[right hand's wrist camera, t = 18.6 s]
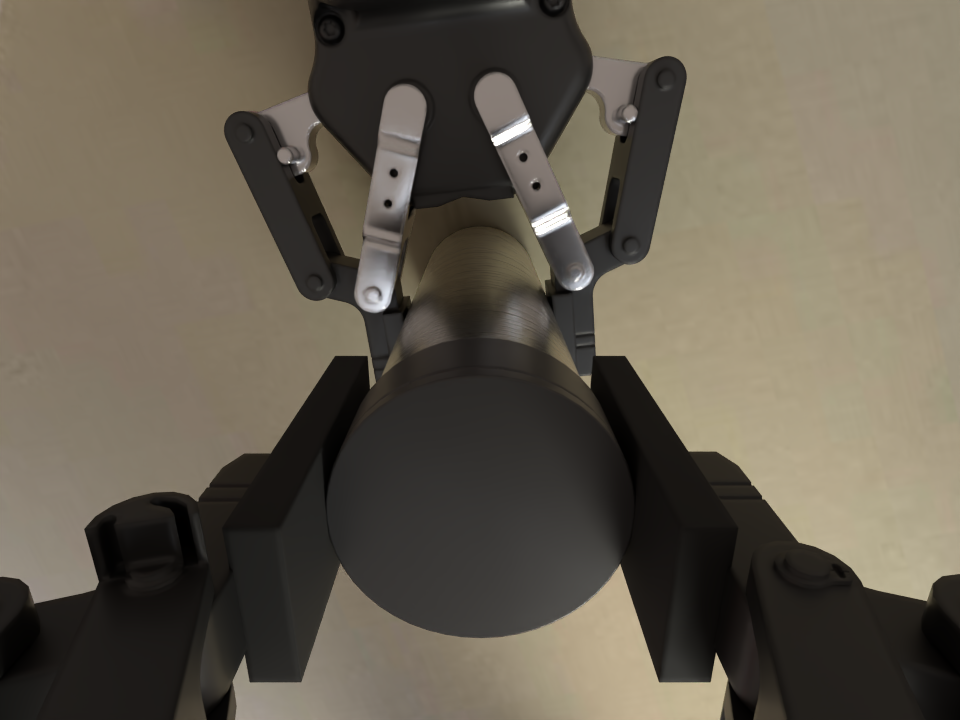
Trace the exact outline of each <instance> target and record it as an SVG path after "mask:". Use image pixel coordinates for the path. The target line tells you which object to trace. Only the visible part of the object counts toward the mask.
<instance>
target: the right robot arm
mask: <svg viewBox="0 0 960 720" xmlns="http://www.w3.org/2000/svg"><path fill="white" fill-rule="evenodd" d="M369 390H370V384H369V370H368V356H335V357H334V359H333V360H332V362H331V363H330V365H329V366H328V368H327V369H326V371H325V372H324V374H323V375H322V377H321V378H320V380H319V381H318V383H317V384H316V386H315V388H314V389H313V391H312V392H311V394H310V395H309V397H308V398H307V400H306V401H305V403H304V404H303V406H302V407H301V409H300V410H299V412H298V413H297V415H296V416H295V418H294V419H293V421H292V422H291V424H290V425H289V427H288V428H287V430H286V431H285V433H284V434H283V436H282V437H281V439H280V440H279V442H278V443H277V445H276V447H275V448H274V450H273V451H272V453H271V454H243V455H242V456H240V457H238V458H237V459H235V460H234V461H232V462H231V463H229V464H228V465H226V466H225V467H223V468H222V469H221V470H220V472H219V473H218V474H217V476H216V477H215V478H214V479H213V481H212V482H211V483H210V487H209V488H206V490H205V491H204V492H203V494H202V495H201V496H200V497H199V502H196V501H195V500H194V499H193V498H191V497H190V496H189V495H185V494H181V493H176V492H160V493H151V494H146V495H142V496H137V497H133V498H131V499H128V500H126V501H123V502H121V503H118V504H116V505H113V506H111V507H110V508H108V509H107V510H105V511H103V512H102V513H100V514H99V515H97V516H96V517H95V518H94V519H93V520H92V521H91V522H90V523H89V524H88V525H87V527H86V528H85V529H84V530H85V533H86V537H87V540H88V544H89V547H90V551H91V555H92V558H93V562H94V565H95V569H96V573H97V576H98V580H99V583H98V586H97V588H96V590H94V591H90V592H86V593H83V594H78V595H73V596H68V597H64V598H59V599H54V600H50V601H45V602H40V603H36V604H34V602H33V599H32V596H31V593H30V590H29V586H27V585H26V584H25V583H24V582H22V581H21V580H20V579H15V578H8V577H0V720H235V715H236V699H235V692H234V687H233V682H232V681H233V679H234V677H235V674H236V672H237V670H238V668H239V666H240V663H241V661H242V659H243V657H244V655H245V658H246V663H247V669H248V674H249V680H250V682H301V681H302V678H303V675H304V672H305V669H306V666H307V663H308V660H309V657H310V654H311V651H312V648H313V645H314V642H315V639H316V635H317V632H318V629H319V626H320V623H321V620H322V617H323V614H324V611H325V608H326V605H327V602H328V599H329V596H330V593H331V590H332V587H333V584H334V581H335V578H336V574H337V571H338V568H339V565H340V561H339V559H338V557H337V555H336V553H335V550H334V548H333V545H332V542H331V539H330V536H329V531H328V526H327V517H326V503H325V501H326V492H327V484H328V480H329V477H330V473H331V470H332V466H333V464H334V462H335V460H336V458H337V455H338V453H339V451H340V449H341V446H342V444H343V442H344V440H345V437H346V435H347V433H348V431H349V429H350V426H351V424H352V422H353V420H354V417H355V415H356V413H357V411H358V409H359V406H360V404H361V403H362V401H363V399H364V398H365V396H366V395H367V393H368V392H369ZM591 391H592V392H593V394H594V395H595V397H596V398H597V400H598V401H599V403H600V405H601V407H602V409H603V411H604V413H605V415H606V417H607V420H608V422H609V424H610V426H611V428H612V431H613V433H614V435H615V437H616V439H617V442H618V444H619V446H620V448H621V451H622V453H623V455H624V457H625V459H626V462H627V464H628V467H629V470H630V473H631V477H632V480H633V485H634V492H635V512H634V521H633V530H632V536H631V539H630V542H629V545H628V548H627V551H626V553H625V555H624V557H623V559H622V561H621V563H620V564H621V567H622V570H623V573H624V576H625V579H626V583H627V586H628V589H629V592H630V595H631V598H632V601H633V604H634V607H635V610H636V613H637V616H638V619H639V622H640V625H641V628H642V631H643V634H644V637H645V640H646V644H647V647H648V650H649V653H650V656H651V659H652V662H653V665H654V668H655V671H656V674H657V677H658V680H659V682H711V676H712V671H713V665H714V660H715V655H716V653H717V655H718V657H719V660H720V662H721V664H722V666H723V668H724V670H725V673H726V675H727V677H728V682H727V687H726V692H725V697H724V702H723V707H722V712H721V718H720V720H960V574H957V575H949V576H942V577H941V578H940V579H938V580H937V581H936V582H935V583H933V585H932V588H931V591H930V594H929V597H928V600H927V601H923V600H919V599H914V598H909V597H904V596H900V595H895V594H890V593H886V592H881V591H876V590H873V589H869V588H866V587H863V585H862V582H861V581H860V579H859V578H858V577H857V575H856V574H855V573H854V571H853V570H852V569H851V568H850V567H849V566H848V565H846V564H845V563H844V562H842V561H841V560H839V559H838V558H837V557H835V556H834V555H832V554H829V553H827V552H825V551H823V550H821V549H819V548H816V547H814V546H810V545H806V544H802V543H798V541H797V540H796V539H795V538H794V536H793V535H792V534H791V532H790V531H789V530H788V529H787V527H786V526H785V525H784V524H783V522H782V521H781V520H780V518H779V517H778V516H777V515H776V513H775V512H774V511H773V510H772V508H771V507H770V506H769V504H768V503H767V502H766V501H765V500H762V495H761V494H760V493H759V492H758V490H757V489H756V488H755V487H754V486H751V481H750V480H749V479H748V478H747V476H746V475H745V474H744V473H743V471H742V470H741V469H740V467H739V466H738V465H736V464H735V463H733V462H731V461H730V460H728V459H727V458H725V457H724V456H722V455H721V454H719V453H717V452H688V450H687V449H686V447H685V446H684V444H683V443H682V441H681V440H680V438H679V437H678V435H677V434H676V432H675V431H674V429H673V428H672V426H671V425H670V423H669V422H668V420H667V419H666V417H665V416H664V414H663V413H662V411H661V410H660V408H659V407H658V405H657V404H656V402H655V401H654V399H653V398H652V396H651V394H650V393H649V391H648V390H647V388H646V387H645V385H644V384H643V382H642V381H641V379H640V378H639V376H638V375H637V373H636V372H635V370H634V369H633V367H632V366H631V364H630V363H629V361H628V360H627V358H626V357H625V356H593V361H592V375H591Z"/></svg>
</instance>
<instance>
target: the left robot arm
mask: <svg viewBox="0 0 960 720" xmlns="http://www.w3.org/2000/svg"><path fill="white" fill-rule="evenodd" d="M308 4H309V9H310V15H311V20H312V25H313V30H314V36H315V58H314V64H313V68H312V71H311V74H310V77H309V82H308V92H307V93H304V94H302V95H300V96H297V97H295V98H292V99H290V100H287V101H285V102H283V103H280V104H278V105H275V106H273V107H270V108H268V109H266V110H263V111H261V112H256V111H247V112H246V111H239V112H235V113H233V114H232V115H230V116H229V117H228V119H227V121H226V123H225V127H224V133H225V138H226V140H227V142H228V144H229V146H230V149H231V151H232V153H233V155H234V157H235V159H236V161H237V163H238V165H239V167H240V169H241V171H242V174H243V176H244V178H245V180H246V182H247V184H248V186H249V188H250V190H251V192H252V194H253V196H254V199H255V201H256V203H257V205H258V207H259V209H260V211H261V213H262V215H263V217H264V219H265V221H266V223H267V226H268V228H269V230H270V232H271V234H272V236H273V238H274V240H275V242H276V244H277V246H278V248H279V251H280V253H281V255H282V257H283V259H284V261H285V263H286V265H287V267H288V269H289V271H290V273H291V276H292V278H293V280H294V282H295V284H296V286H297V288H298V290H299V292H300V293H301V294H302V295H303V296H304V297H306V298H308V299H310V300H314V301H319V300H323V299H325V298H329V299H334V300H338V301H343V302H346V303H349V304H351V305H353V306H355V307H356V308H357V309H358V310H359V311H360V312H361V314H362V316H363V318H364V321H365V326H366V331H367V337H368V342H369V347H370V353H371V357H372V363H373V368H374V374H375V379H376V382H377V381H378V380H379V379H380V378H381V376H382V374H383V371H384V369H385V367H386V364H387V362H388V359H389V357H390V354H391V352H392V350H393V347H394V345H395V342H396V340H397V337H398V335H399V333H400V330H401V328H402V325H403V323H404V320H405V318H406V316H407V313H408V311H409V308H410V306H411V300H410V296H405V297H403V293H402V286H401V277H402V272H403V268H404V263H405V258H406V253H407V248H408V243H409V238H410V235H411V231H412V228H413V224H414V219H415V214H416V209H421V208H429V207H438V206H441V205H443V204H446V203H448V202H451V201H453V200H455V199H458V198H460V197H470V198H477V199H483V200H497V199H506V198H514V194H516V196H517V198H518V200H519V202H520V204H521V206H522V208H523V210H524V212H525V215H526V217H527V219H528V221H529V223H530V225H531V227H532V229H533V231H534V233H535V235H536V238H537V240H538V242H539V244H540V246H541V248H542V250H543V252H544V255H545V257H546V259H547V261H548V263H549V265H550V273H551V280H545V287H546V297H547V299H548V302H549V304H550V307H551V309H552V312H553V314H554V316H555V319H556V321H557V324H558V326H559V328H560V331H561V333H562V336H563V338H564V340H565V343H566V345H567V348H568V350H569V352H570V355H571V357H572V360H573V362H574V364H575V367H576V369H577V372H578V374H579V376H587V375H591V373H592V361H593V356H596V352H595V335H594V333H595V332H594V313H593V289H594V286H595V284H596V282H597V281H598V279H599V278H600V277H601V276H602V275H604V274H605V273H607V272H609V271H611V270H613V269H615V268H617V267H619V266H621V265H623V264H635V263H638V262H640V261H641V260H643V259H644V258H645V256H646V255H647V253H648V251H649V248H650V244H651V239H652V235H653V230H654V226H655V221H656V217H657V212H658V208H659V203H660V198H661V194H662V189H663V185H664V180H665V176H666V171H667V167H668V162H669V157H670V153H671V148H672V144H673V139H674V135H675V130H676V126H677V121H678V116H679V112H680V107H681V103H682V98H683V94H684V89H685V85H686V79H687V75H686V70H685V67H684V65H683V64H682V63H681V61H679V60H678V59H677V58H674V57H671V56H664V57H661V58H658V59H656V60H654V61H652V62H649V63H641V62H634V61H626V60H619V59H612V58H604V57H597V56H592V52H591V49H590V47H589V44H588V42H587V41H586V39H585V38H584V36H583V34H582V33H581V31H580V29H579V26H578V24H577V22H576V19H575V15H574V11H573V6H572V0H308ZM585 92H587V93H589V94H591V95H592V96H593V97H594V98H595V99H596V101H597V103H598V105H599V110H600V113H599V119H600V124H601V126H602V128H603V129H604V130H605V131H606V132H607V133H608V134H610V135H614V136H616V137H615V143H614V148H613V153H612V159H611V164H610V169H609V175H608V180H607V185H606V191H605V196H604V201H603V207H602V212H601V217H600V223H599V226H598V227H596V228H594V229H592V230H590V231H588V232H586V233H584V234H582V235H579V232H578V230H577V228H576V226H575V223H574V221H573V219H572V216H571V213H570V210H569V207H568V205H567V202H566V200H565V198H564V195H563V193H562V191H561V189H560V186H559V184H558V182H557V180H556V177H555V175H554V173H553V171H552V168H551V166H550V164H549V162H548V157H549V155H550V153H551V152H552V150H553V148H554V146H555V145H556V143H557V141H558V139H559V138H560V136H561V134H562V132H563V131H564V129H565V127H566V125H567V124H568V122H569V120H570V118H571V117H572V115H573V113H574V111H575V110H576V108H577V106H578V104H579V103H580V101H581V99H582V97H583V96H584V94H585ZM322 126H324V127H325V128H326V129H327V130H328V131H329V132H330V133H331V134H332V135H333V136H334V137H335V138H336V139H337V141H338V142H339V143H340V144H341V145H342V146H343V147H344V148H345V149H346V150H347V151H348V152H349V153H350V154H351V155H352V157H353V158H354V159H355V160H356V161H357V162H358V163H359V164H360V165H361V166H362V167H363V168H364V169H365V170H366V171H367V172H368V174H369V175H370V176H371V177H372V180H371V186H370V191H369V197H368V203H367V208H366V214H365V220H364V226H363V246H362V251H361V257H360V259H357V258H352V257H348V256H345V255H344V252H343V250H342V248H341V246H340V243H339V241H338V239H337V237H336V234H335V232H334V230H333V228H332V225H331V223H330V221H329V219H328V216H327V214H326V212H325V210H324V207H323V205H322V203H321V201H320V198H319V196H318V194H317V191H316V189H315V187H314V185H313V182H312V180H311V178H310V176H309V172H311V171H312V170H313V169H314V168H315V167H316V165H317V163H318V150H317V147H316V136H317V133H318V131H319V130H320V128H321V127H322Z"/></svg>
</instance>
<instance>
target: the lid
mask: <svg viewBox="0 0 960 720" xmlns="http://www.w3.org/2000/svg"><path fill="white" fill-rule="evenodd" d="M325 503H326V517H327V526H328V531H329V536H330V539H331V542H332V545H333V548H334V550H335V553H336V555H337V557H338V559H339V561H340V562H341V564H342V566H343V568H344V569H345V571H346V572H347V574H348V575H349V576H350V578H351V579H352V581H353V582H354V583H355V584H356V585H357V586H358V587H359V588H360V589H361V591H362V592H363V593H364V594H365V595H366V596H368V597H369V598H370V599H371V600H372V601H374V602H375V603H376V604H377V605H378V606H380V607H381V608H383V609H384V610H386V611H388V612H389V613H391V614H392V615H394V616H396V617H398V618H400V619H402V620H404V621H406V622H408V623H410V624H412V625H415V626H418V627H420V628H423V629H426V630H429V631H433V632H437V633H441V634H445V635H452V636H458V637H470V638H491V637H503V636H509V635H516V634H520V633H524V632H528V631H532V630H535V629H538V628H541V627H543V626H546V625H549V624H551V623H553V622H555V621H557V620H559V619H561V618H563V617H565V616H567V615H569V614H570V613H572V612H573V611H575V610H576V609H578V608H579V607H581V606H582V605H584V604H585V603H586V602H587V601H589V600H590V599H591V598H592V597H593V596H594V595H596V594H597V593H598V592H599V591H600V589H601V588H602V587H603V586H604V585H605V584H606V583H607V582H608V581H609V579H610V578H611V576H612V575H613V574H614V572H615V571H616V569H617V568H618V566H619V565H620V563H621V561H622V559H623V557H624V555H625V553H626V551H627V548H628V545H629V542H630V539H631V536H632V530H633V521H634V512H635V492H634V485H633V480H632V477H631V473H630V470H629V467H628V464H627V462H626V459H625V457H624V455H623V453H622V451H621V448H620V446H619V444H618V442H617V439H616V437H615V435H614V433H613V431H612V428H611V426H610V424H609V422H608V420H607V417H606V415H605V413H604V411H603V409H602V407H601V405H600V403H599V401H598V400H597V398H596V397H595V395H594V394H593V392H592V391H591V389H590V388H589V387H588V386H587V384H586V383H585V382H584V381H583V380H582V379H581V378H580V377H579V376H578V375H577V374H576V373H575V372H574V371H572V370H571V369H570V368H569V367H568V366H566V365H565V364H564V363H562V362H560V361H559V360H557V359H556V358H554V357H552V356H551V355H549V354H547V353H545V352H542V351H540V350H538V349H536V348H534V347H530V346H527V345H524V344H521V343H518V342H513V341H508V340H502V339H493V338H468V339H458V340H453V341H448V342H443V343H440V344H437V345H434V346H431V347H428V348H425V349H423V350H421V351H419V352H416V353H414V354H412V355H410V356H408V357H407V358H405V359H404V360H402V361H401V362H399V363H398V364H396V365H394V366H393V367H392V368H391V369H390V370H389V371H387V372H386V373H385V374H384V375H383V376H382V377H381V378H380V379H379V380H378V381H377V382H376V383H375V384H374V386H373V387H372V388H371V389H370V390H369V392H368V393H367V395H366V396H365V398H364V399H363V401H362V403H361V404H360V406H359V409H358V411H357V413H356V415H355V417H354V420H353V422H352V424H351V426H350V429H349V431H348V433H347V435H346V437H345V440H344V442H343V444H342V446H341V449H340V451H339V453H338V455H337V458H336V460H335V462H334V464H333V466H332V470H331V473H330V477H329V480H328V484H327V492H326V501H325Z"/></svg>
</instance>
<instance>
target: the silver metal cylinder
mask: <svg viewBox="0 0 960 720" xmlns="http://www.w3.org/2000/svg"><path fill="white" fill-rule="evenodd" d="M468 338H493V339H502V340H508V341H513V342H518V343H521V344H524V345H527V346H530V347H534V348H536V349H538V350H540V351H542V352H545V353H547V354H549V355H551V356H552V357H554V358H556V359H557V360H559V361H560V362H562V363H564V364H565V365H566V366H568V367H569V368H570V369H571V370H572V371H574V372H575V373H576V374H577V375H578V376H579V374H578V372H577V369H576V367H575V364H574V362H573V360H572V357H571V355H570V352H569V350H568V348H567V345H566V343H565V340H564V338H563V336H562V333H561V331H560V328H559V326H558V324H557V321H556V319H555V316H554V314H553V312H552V309H551V307H550V304H549V302H548V299H547V297H546V295H545V292H544V290H543V287H542V285H541V283H540V280H539V278H538V275H537V273H536V271H535V268H534V266H533V263H532V261H531V259H530V257H529V255H528V253H527V251H526V250H525V248H524V247H523V246H522V245H521V244H520V243H519V242H518V241H517V240H516V239H515V238H514V237H512V236H511V235H509V234H508V233H506V232H504V231H501V230H499V229H496V228H492V227H486V226H476V227H469V228H465V229H462V230H459V231H457V232H455V233H453V234H451V235H450V236H448V237H447V238H445V239H444V240H443V241H442V242H441V243H440V244H439V245H438V246H437V248H436V249H435V250H434V252H433V254H432V255H431V257H430V260H429V262H428V265H427V267H426V270H425V272H424V274H423V277H422V279H421V282H420V284H419V287H418V289H417V291H416V294H415V296H414V299H413V301H412V304H411V306H410V308H409V311H408V313H407V316H406V318H405V320H404V323H403V325H402V328H401V330H400V333H399V335H398V337H397V340H396V342H395V345H394V347H393V350H392V352H391V354H390V357H389V359H388V362H387V364H386V367H385V369H384V371H383V374H382V376H383V375H384V374H385V373H386V372H387V371H389V370H390V369H391V368H392V367H393V366H394V365H396V364H398V363H399V362H401V361H402V360H404V359H405V358H407V357H408V356H410V355H412V354H414V353H416V352H419V351H421V350H423V349H425V348H428V347H431V346H434V345H437V344H440V343H443V342H448V341H453V340H458V339H468ZM382 376H381V377H382ZM579 377H580V376H579Z"/></svg>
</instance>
